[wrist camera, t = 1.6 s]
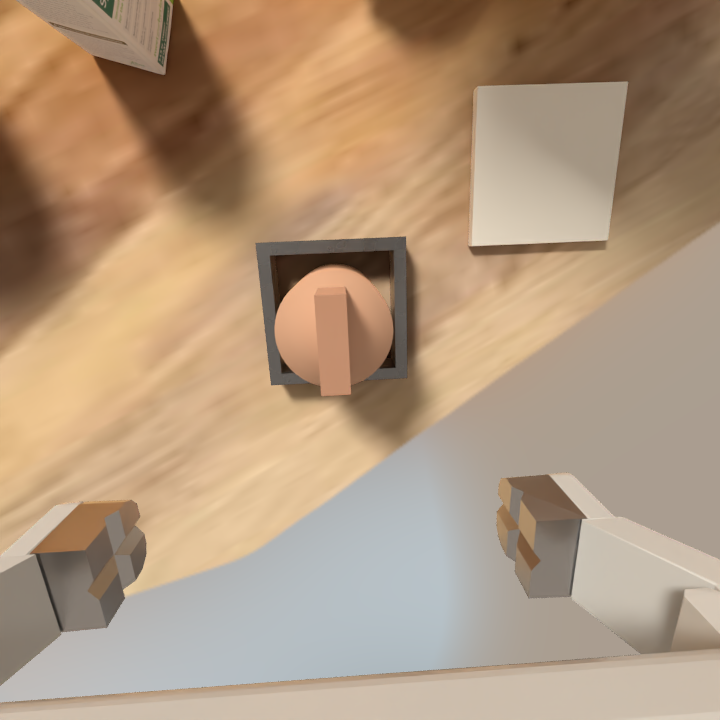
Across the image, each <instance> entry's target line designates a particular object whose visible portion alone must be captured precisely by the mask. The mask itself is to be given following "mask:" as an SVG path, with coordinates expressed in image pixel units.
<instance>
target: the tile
mask: <svg viewBox="0 0 720 720" xmlns="http://www.w3.org/2000/svg"><path fill="white" fill-rule="evenodd" d="M627 88H628V82H595V83H562V84H529V85H496V86H477V87H476V88H475V90H474V93H473V122H472V151H471V180H470V209H469V238H468V246H488V245H511V244H534V243H558V242H581V241H604V240H608V235H609V228H610V220H611V212H612V204H613V197H614V189H615V181H616V173H617V165H618V158H619V150H620V142H621V134H622V127H623V119H624V111H625V103H626V96H627Z"/></svg>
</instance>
